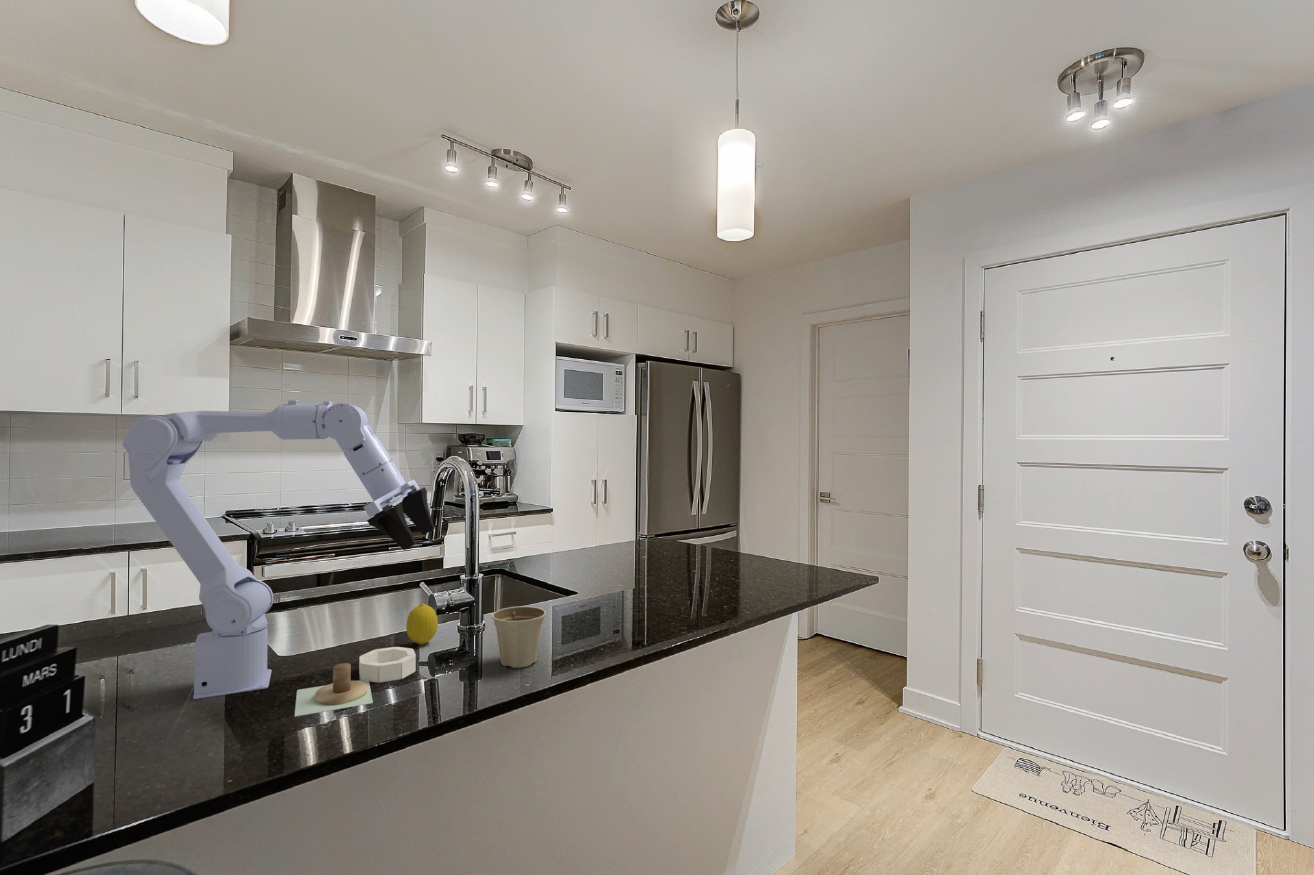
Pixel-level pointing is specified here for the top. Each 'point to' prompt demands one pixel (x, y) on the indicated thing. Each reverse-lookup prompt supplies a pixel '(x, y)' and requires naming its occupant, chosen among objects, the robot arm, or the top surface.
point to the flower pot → (518, 634)
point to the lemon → (422, 624)
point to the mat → (310, 706)
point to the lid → (341, 687)
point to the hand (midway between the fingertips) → (420, 539)
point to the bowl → (387, 664)
